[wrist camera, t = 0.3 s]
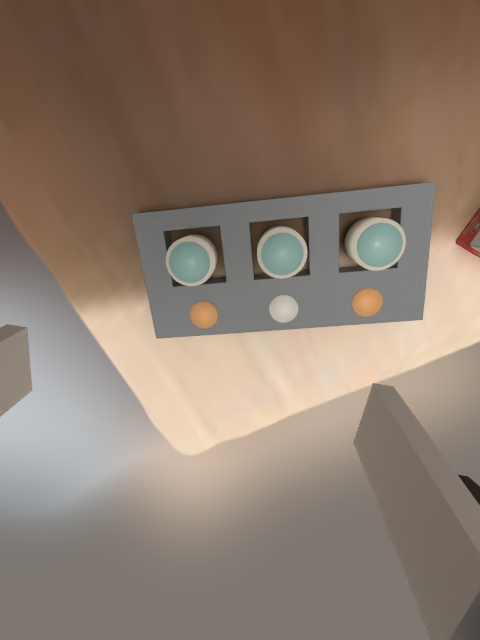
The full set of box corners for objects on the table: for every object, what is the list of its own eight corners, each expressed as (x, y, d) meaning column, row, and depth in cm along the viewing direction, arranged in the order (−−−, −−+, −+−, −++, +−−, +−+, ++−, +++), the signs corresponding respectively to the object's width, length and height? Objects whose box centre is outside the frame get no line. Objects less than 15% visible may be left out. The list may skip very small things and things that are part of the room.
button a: (170, 236, 34) (160, 240, 31) (215, 231, 34) (210, 235, 31) (177, 280, 36) (169, 288, 33) (220, 277, 36) (216, 284, 32)
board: (139, 213, 36) (130, 214, 34) (423, 183, 33) (436, 181, 31) (162, 330, 41) (156, 339, 38) (412, 312, 38) (423, 320, 36)
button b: (255, 227, 34) (254, 231, 30) (302, 223, 33) (307, 225, 30) (259, 273, 35) (258, 281, 32) (304, 269, 35) (308, 277, 32)
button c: (344, 219, 33) (354, 221, 30) (394, 214, 32) (409, 215, 29) (344, 266, 34) (353, 273, 31) (391, 262, 34) (405, 269, 31)
